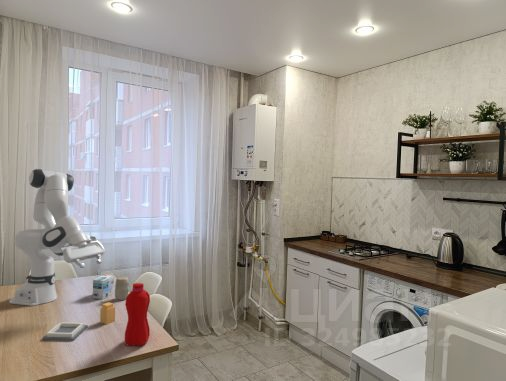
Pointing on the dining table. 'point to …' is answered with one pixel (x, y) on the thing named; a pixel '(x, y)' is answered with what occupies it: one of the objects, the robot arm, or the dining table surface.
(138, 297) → the water bottle
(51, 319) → the dining table surface
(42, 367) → the dining table surface
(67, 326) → the base
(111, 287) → the light bulb box
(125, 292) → the carving
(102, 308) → the stepped orange block
